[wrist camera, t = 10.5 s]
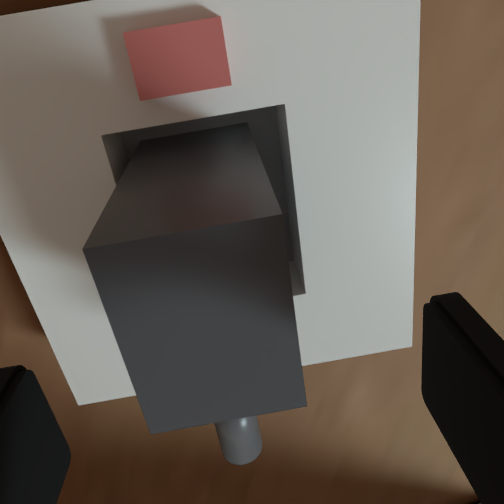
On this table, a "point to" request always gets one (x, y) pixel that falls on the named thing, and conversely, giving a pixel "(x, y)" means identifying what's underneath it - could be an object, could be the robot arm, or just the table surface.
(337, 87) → the socket
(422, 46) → the table surface
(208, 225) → the plug
